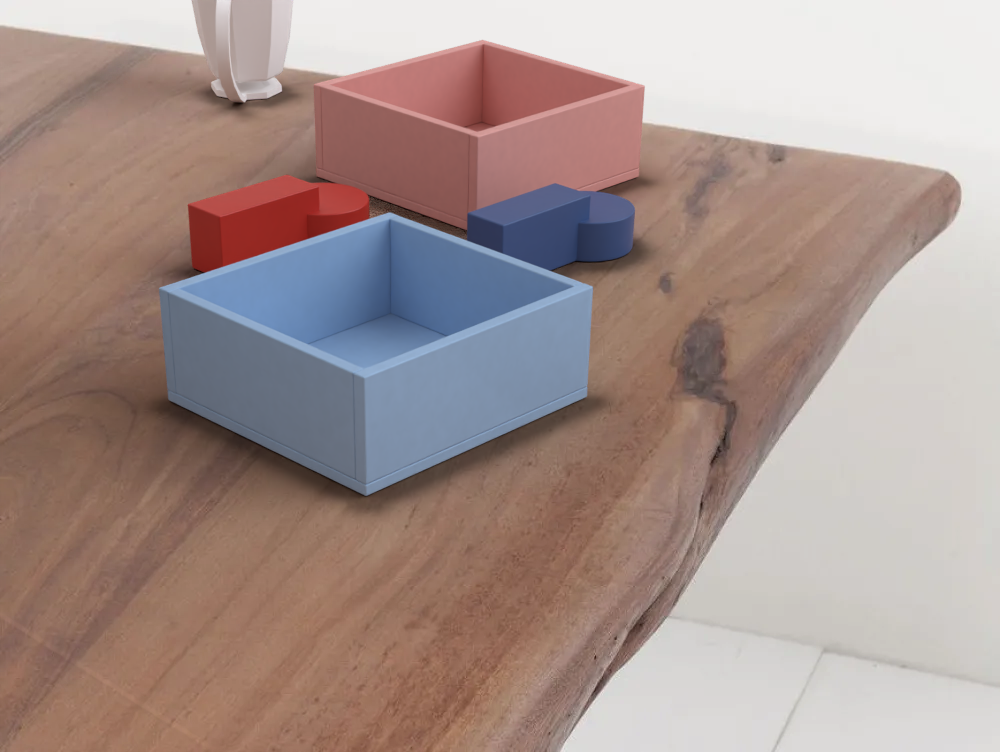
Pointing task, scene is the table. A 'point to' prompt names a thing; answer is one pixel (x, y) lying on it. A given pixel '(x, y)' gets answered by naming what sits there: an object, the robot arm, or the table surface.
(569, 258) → the dark blue rounded block
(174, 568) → the table surface
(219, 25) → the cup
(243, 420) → the blue bin
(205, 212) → the red rounded block
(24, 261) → the table surface
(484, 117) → the rose bin
